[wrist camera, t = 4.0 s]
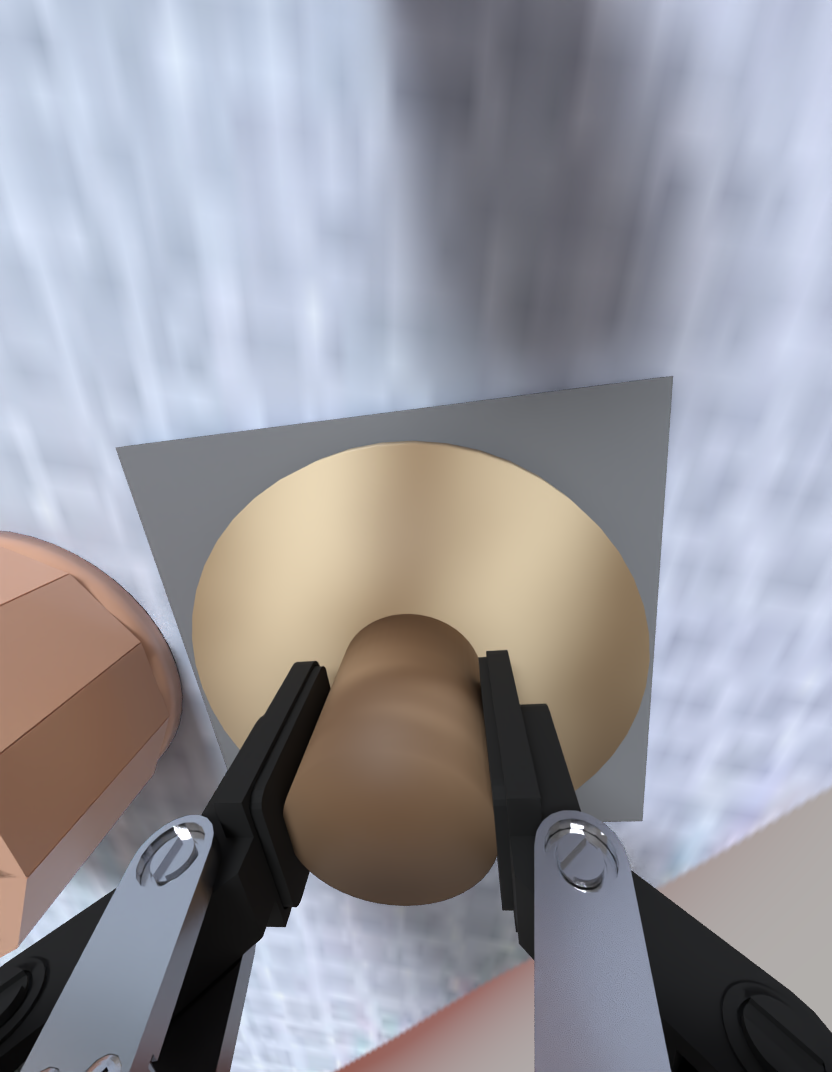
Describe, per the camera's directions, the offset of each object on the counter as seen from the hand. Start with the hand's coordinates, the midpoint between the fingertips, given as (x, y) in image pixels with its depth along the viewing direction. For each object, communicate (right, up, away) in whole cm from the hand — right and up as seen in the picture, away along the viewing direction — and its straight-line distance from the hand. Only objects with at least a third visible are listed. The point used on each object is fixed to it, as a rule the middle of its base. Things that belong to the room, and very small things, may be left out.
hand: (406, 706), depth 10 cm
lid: (0, +1, +2) cm, 2 cm away
